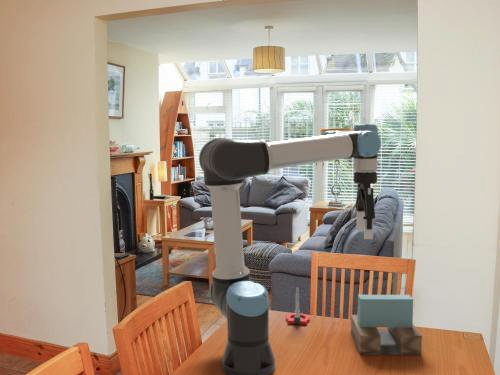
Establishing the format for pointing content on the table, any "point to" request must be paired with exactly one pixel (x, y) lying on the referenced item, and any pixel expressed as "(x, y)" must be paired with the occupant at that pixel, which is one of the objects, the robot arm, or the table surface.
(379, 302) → the teal beam
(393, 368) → the table surface
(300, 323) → the tow hook
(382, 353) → the grey grooved block
